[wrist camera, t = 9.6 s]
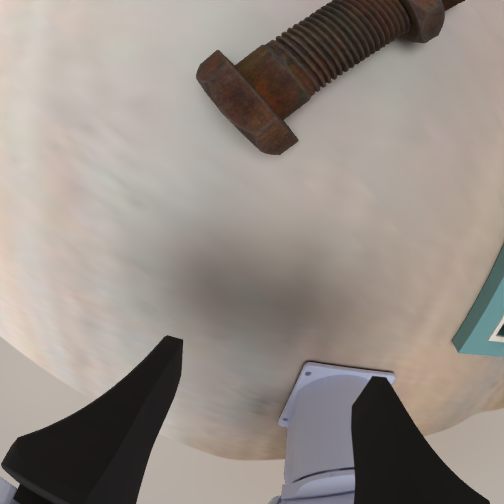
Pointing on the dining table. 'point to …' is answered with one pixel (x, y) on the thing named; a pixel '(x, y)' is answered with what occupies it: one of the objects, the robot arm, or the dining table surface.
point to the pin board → (485, 318)
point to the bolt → (310, 62)
